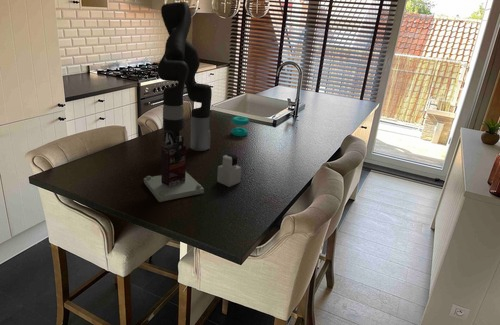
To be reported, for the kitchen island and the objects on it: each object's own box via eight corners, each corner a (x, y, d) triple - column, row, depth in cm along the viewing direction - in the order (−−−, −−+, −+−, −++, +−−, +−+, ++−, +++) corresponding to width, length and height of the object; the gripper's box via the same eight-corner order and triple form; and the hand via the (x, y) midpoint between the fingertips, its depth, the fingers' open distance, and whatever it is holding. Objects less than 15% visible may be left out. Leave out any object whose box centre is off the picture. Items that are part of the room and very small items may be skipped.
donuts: (232, 115, 217) (249, 116, 217) (231, 131, 221) (248, 132, 221) (231, 119, 208) (248, 121, 208) (230, 136, 212) (247, 137, 212)
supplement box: (168, 188, 139) (168, 149, 134) (161, 184, 142) (160, 146, 136) (186, 182, 146) (186, 145, 140) (178, 178, 148) (178, 141, 143)
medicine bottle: (228, 177, 158) (229, 151, 154) (240, 182, 154) (242, 156, 150) (216, 181, 153) (218, 155, 149) (229, 187, 149) (230, 160, 145)
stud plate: (185, 175, 156) (185, 169, 155) (203, 193, 143) (204, 186, 141) (144, 182, 147) (143, 175, 146) (159, 202, 133) (159, 194, 132)
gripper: (190, 120, 130) (189, 162, 136) (175, 110, 141) (175, 149, 147) (170, 122, 126) (170, 165, 132) (156, 112, 137) (157, 152, 143)
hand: (173, 157), depth 140 cm, fingers open, 8 cm apart
